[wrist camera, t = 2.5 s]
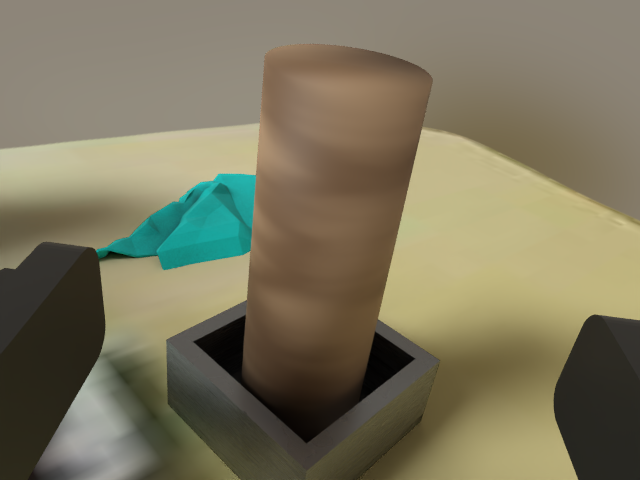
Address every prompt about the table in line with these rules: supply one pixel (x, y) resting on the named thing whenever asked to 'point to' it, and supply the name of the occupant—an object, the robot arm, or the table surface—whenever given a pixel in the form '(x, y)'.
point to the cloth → (196, 225)
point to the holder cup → (269, 431)
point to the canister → (325, 223)
